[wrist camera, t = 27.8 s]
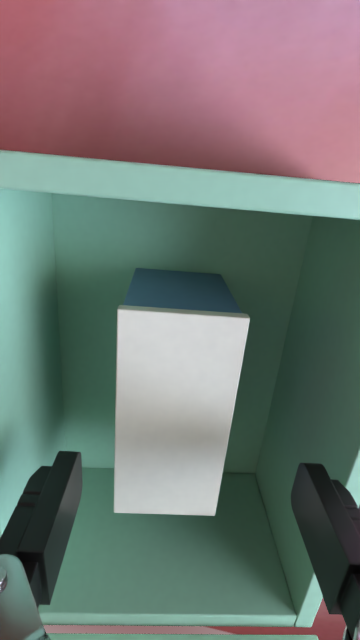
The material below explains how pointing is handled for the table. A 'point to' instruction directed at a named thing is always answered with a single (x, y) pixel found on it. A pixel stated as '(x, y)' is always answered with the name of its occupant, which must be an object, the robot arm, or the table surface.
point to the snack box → (175, 391)
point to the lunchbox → (252, 394)
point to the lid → (177, 637)
